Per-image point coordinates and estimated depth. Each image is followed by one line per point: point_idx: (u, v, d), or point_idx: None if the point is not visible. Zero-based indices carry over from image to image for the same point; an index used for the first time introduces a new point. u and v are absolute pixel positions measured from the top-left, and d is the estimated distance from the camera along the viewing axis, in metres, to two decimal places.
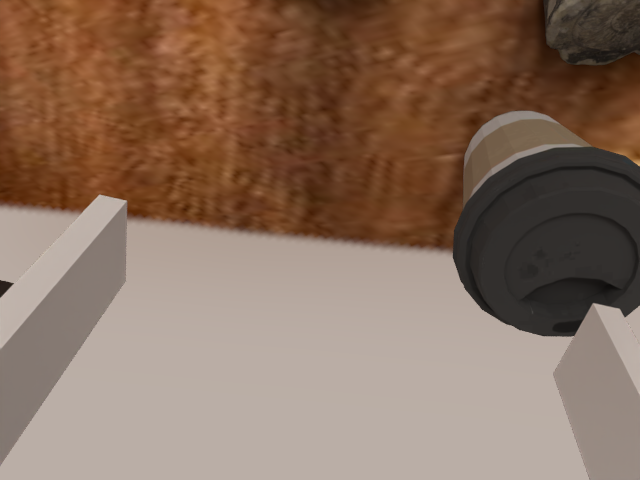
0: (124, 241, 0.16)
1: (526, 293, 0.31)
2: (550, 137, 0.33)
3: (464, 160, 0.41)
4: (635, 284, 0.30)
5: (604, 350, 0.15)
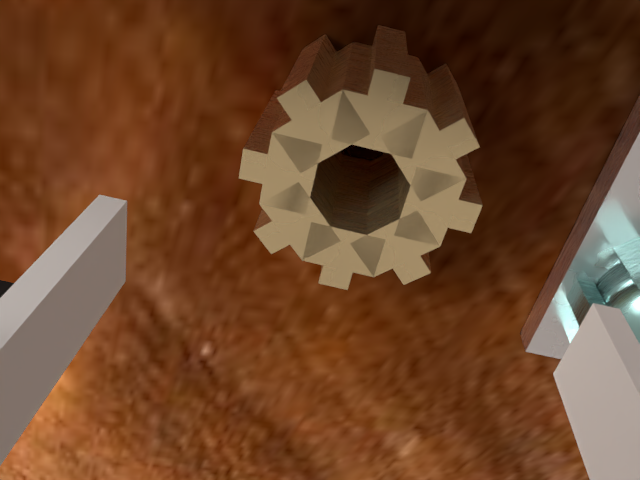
0: (124, 241, 0.16)
1: None
2: None
3: None
4: None
5: (604, 350, 0.15)
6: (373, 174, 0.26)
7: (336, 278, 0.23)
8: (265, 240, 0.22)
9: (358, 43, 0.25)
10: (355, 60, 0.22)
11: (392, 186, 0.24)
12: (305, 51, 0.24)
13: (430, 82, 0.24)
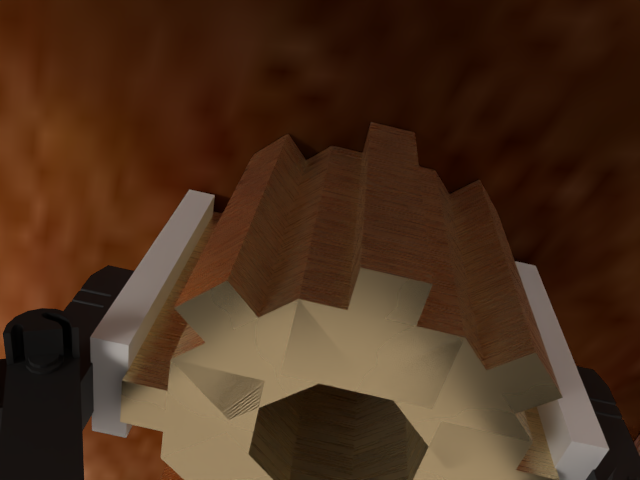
0: None
1: None
2: None
3: None
4: None
5: None
6: None
7: None
8: None
9: (340, 148, 0.16)
10: (331, 196, 0.13)
11: None
12: (253, 166, 0.15)
13: (456, 216, 0.15)
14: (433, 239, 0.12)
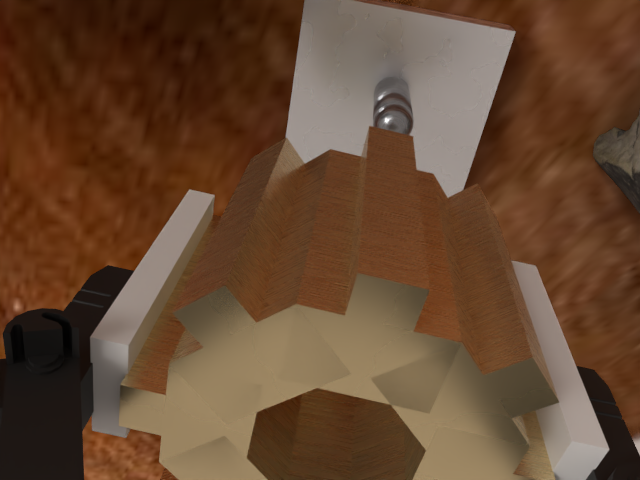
0: None
1: None
2: None
3: None
4: None
5: None
6: None
7: None
8: None
9: (338, 152, 0.16)
10: (330, 200, 0.13)
11: None
12: (252, 170, 0.15)
13: (454, 220, 0.15)
14: (431, 243, 0.12)
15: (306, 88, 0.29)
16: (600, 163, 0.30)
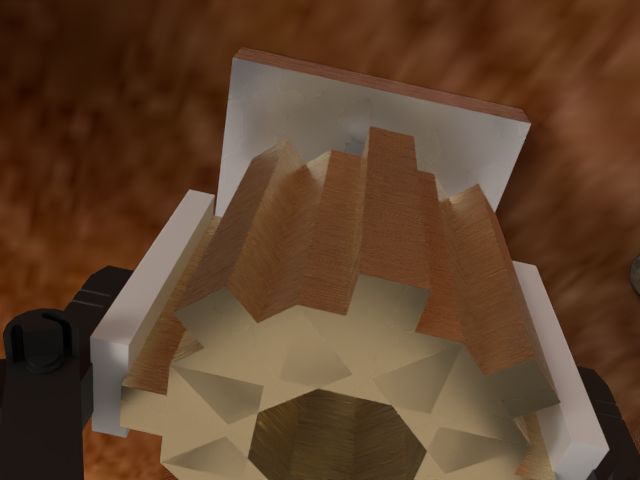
0: None
1: None
2: None
3: None
4: None
5: None
6: None
7: None
8: None
9: (339, 152, 0.16)
10: (330, 201, 0.13)
11: None
12: (253, 170, 0.15)
13: (455, 220, 0.15)
14: (432, 244, 0.12)
15: (238, 184, 0.21)
16: None
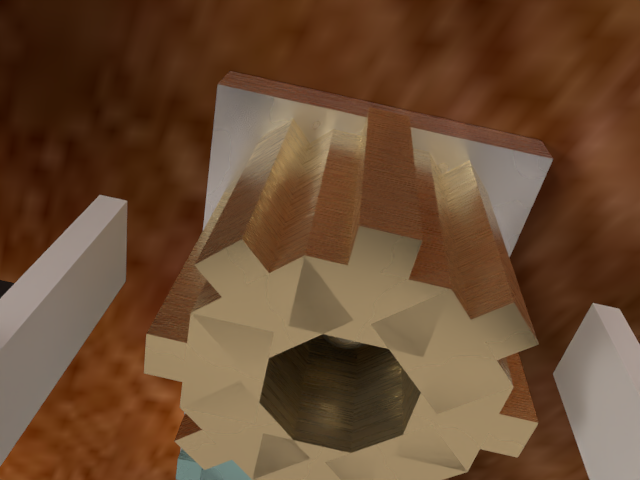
0: (125, 241, 0.16)
1: None
2: None
3: None
4: None
5: (604, 349, 0.15)
6: None
7: None
8: (194, 453, 0.14)
9: (341, 132, 0.17)
10: (333, 172, 0.14)
11: None
12: (261, 147, 0.16)
13: (447, 193, 0.16)
14: (425, 210, 0.14)
15: None
16: None
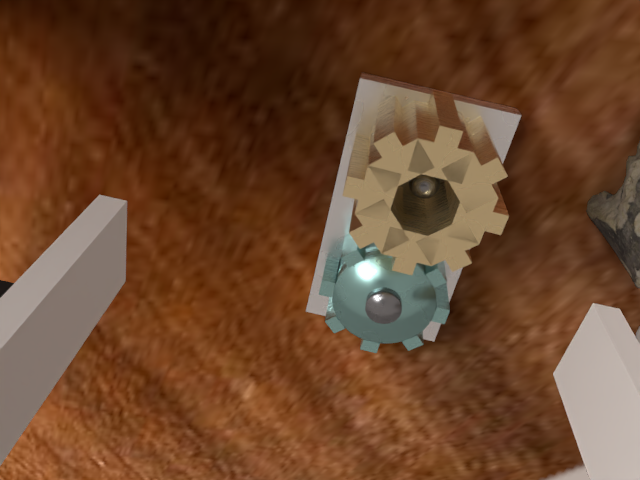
0: (124, 241, 0.16)
1: None
2: None
3: None
4: None
5: (604, 350, 0.15)
6: None
7: (404, 267, 0.33)
8: (356, 239, 0.32)
9: (418, 101, 0.35)
10: (420, 116, 0.32)
11: (443, 203, 0.34)
12: (381, 107, 0.34)
13: (470, 130, 0.34)
14: None
15: None
16: (591, 218, 0.38)
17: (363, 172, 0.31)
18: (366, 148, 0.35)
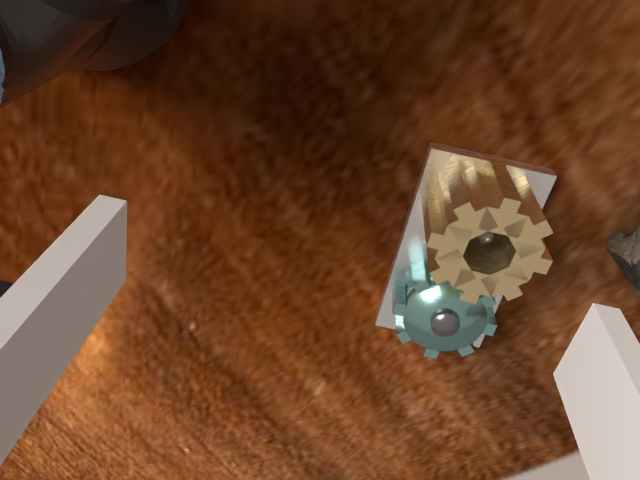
0: (124, 241, 0.16)
1: None
2: None
3: None
4: None
5: (604, 350, 0.15)
6: None
7: (470, 297, 0.43)
8: (434, 277, 0.42)
9: (476, 166, 0.45)
10: (482, 182, 0.42)
11: (498, 247, 0.44)
12: (449, 172, 0.44)
13: (518, 189, 0.44)
14: None
15: None
16: (610, 252, 0.48)
17: (441, 228, 0.41)
18: (437, 204, 0.44)
